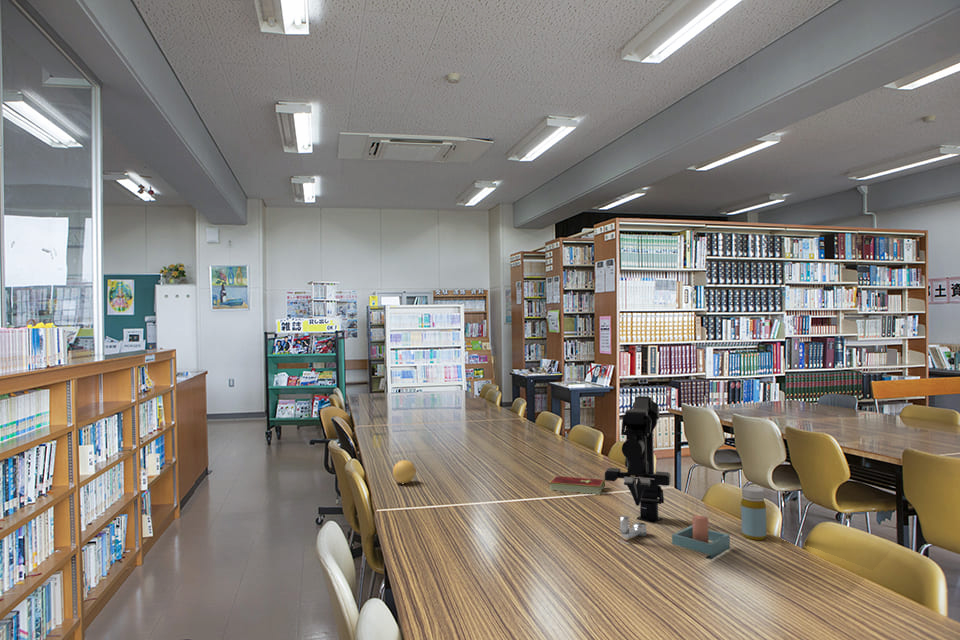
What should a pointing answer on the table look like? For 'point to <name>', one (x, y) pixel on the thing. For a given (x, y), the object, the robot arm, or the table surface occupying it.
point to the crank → (636, 530)
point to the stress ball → (404, 471)
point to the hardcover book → (577, 484)
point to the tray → (713, 549)
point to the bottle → (753, 513)
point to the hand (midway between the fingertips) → (637, 505)
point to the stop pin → (700, 528)
